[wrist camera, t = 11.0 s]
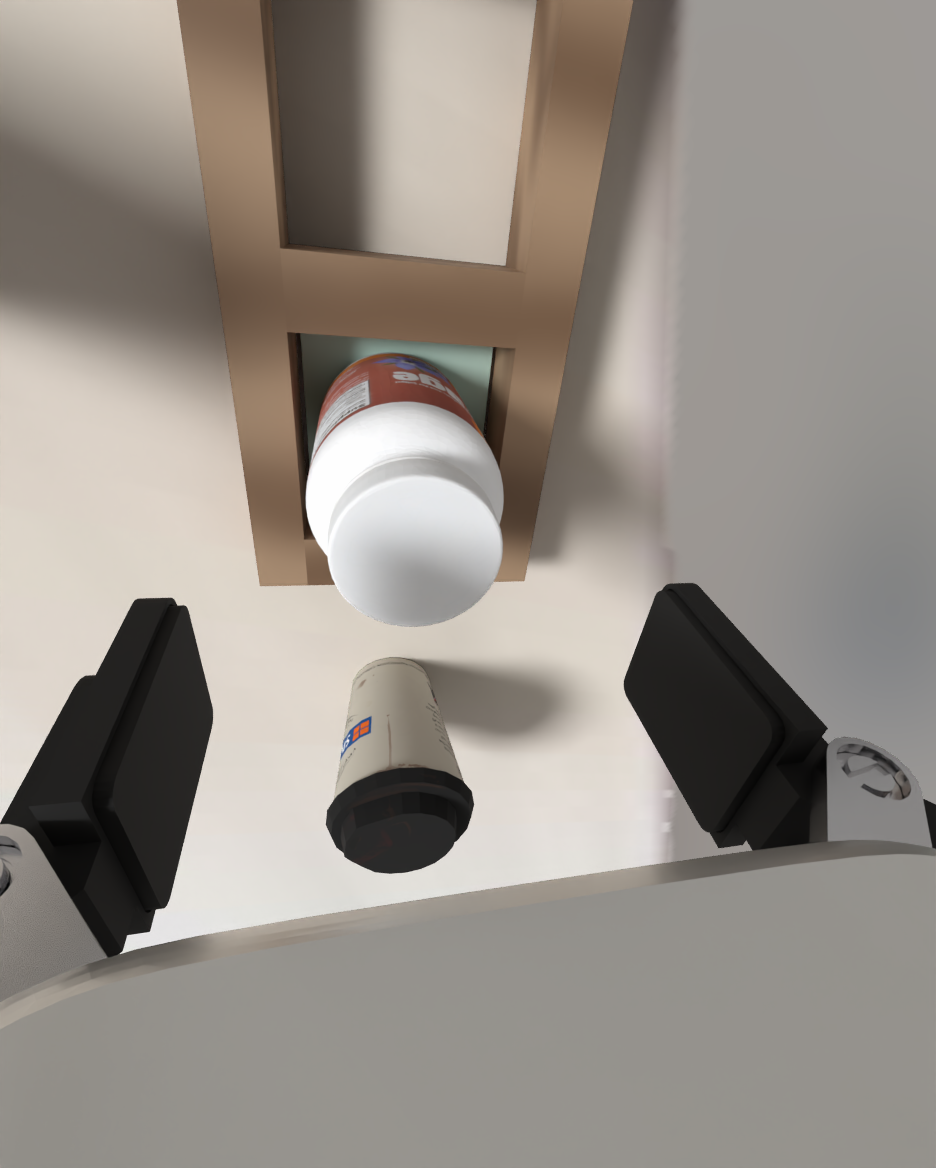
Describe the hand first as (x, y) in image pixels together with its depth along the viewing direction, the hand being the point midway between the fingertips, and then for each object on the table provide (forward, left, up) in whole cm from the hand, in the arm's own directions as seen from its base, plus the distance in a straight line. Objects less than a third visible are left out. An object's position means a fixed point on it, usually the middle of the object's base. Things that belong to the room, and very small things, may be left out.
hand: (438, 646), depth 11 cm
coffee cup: (+16, 0, -15) cm, 22 cm away
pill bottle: (0, 0, -15) cm, 15 cm away
